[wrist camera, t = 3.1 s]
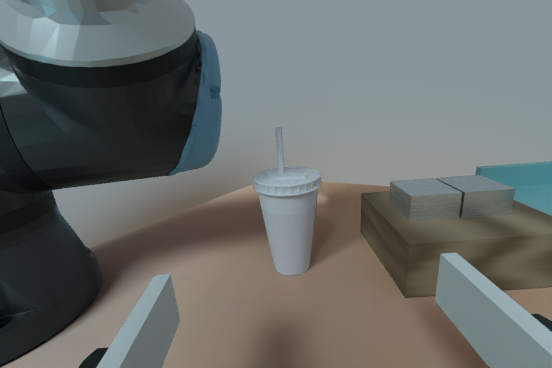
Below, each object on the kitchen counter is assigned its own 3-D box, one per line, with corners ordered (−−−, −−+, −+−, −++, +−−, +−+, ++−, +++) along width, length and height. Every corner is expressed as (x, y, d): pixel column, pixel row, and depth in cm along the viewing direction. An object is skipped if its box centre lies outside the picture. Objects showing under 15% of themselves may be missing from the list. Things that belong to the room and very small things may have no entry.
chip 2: (461, 218, 26) (465, 192, 25) (433, 200, 30) (436, 178, 29) (510, 214, 26) (515, 188, 25) (476, 197, 30) (479, 175, 29)
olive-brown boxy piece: (405, 297, 24) (409, 244, 22) (360, 231, 35) (361, 193, 34) (571, 285, 24) (587, 231, 22) (473, 223, 35) (479, 184, 34)
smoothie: (279, 244, 34) (270, 123, 29) (331, 255, 30) (330, 123, 26) (248, 274, 28) (233, 133, 24) (308, 292, 25) (302, 133, 21)
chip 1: (409, 222, 26) (411, 196, 25) (389, 204, 30) (390, 181, 29) (458, 218, 26) (462, 192, 25) (431, 200, 30) (433, 178, 29)
